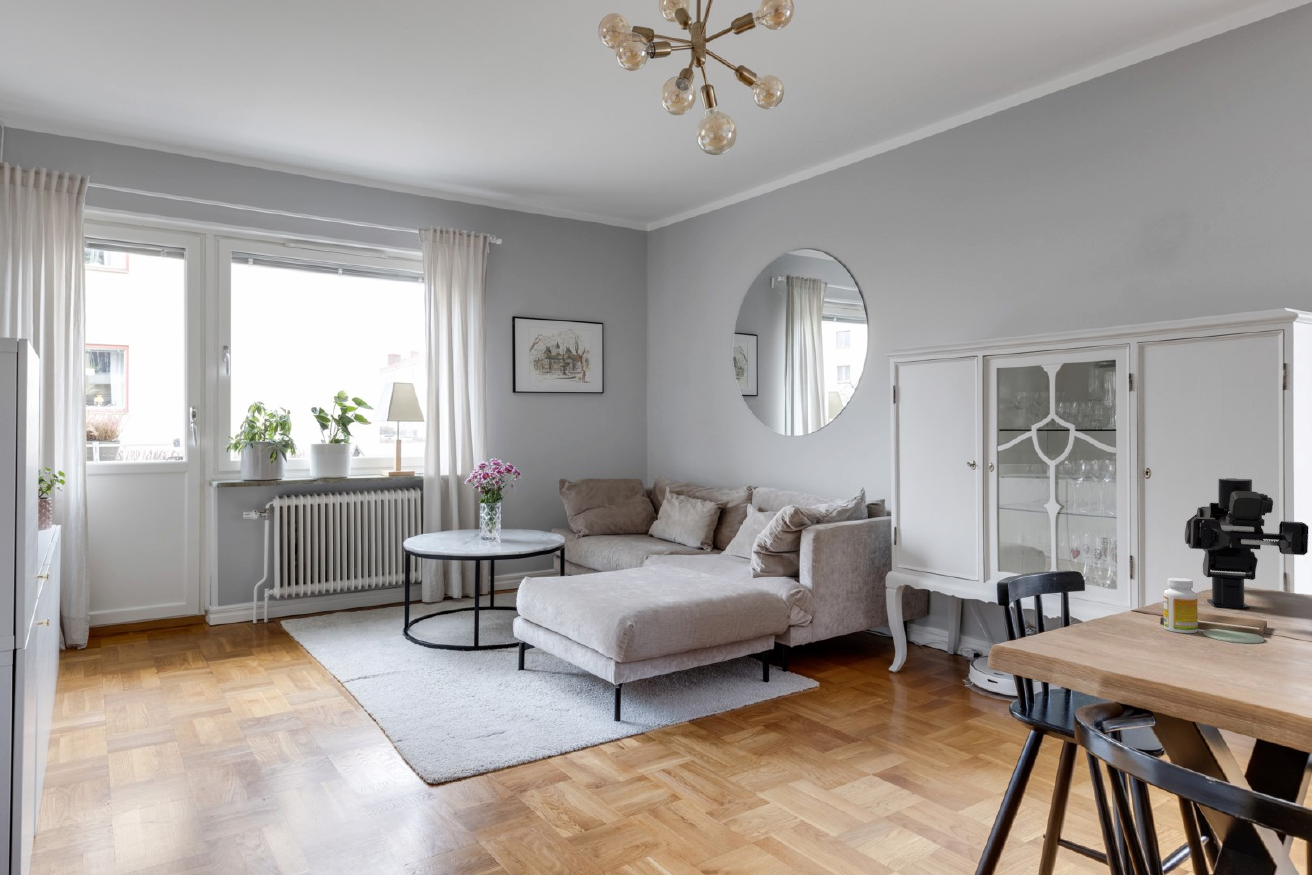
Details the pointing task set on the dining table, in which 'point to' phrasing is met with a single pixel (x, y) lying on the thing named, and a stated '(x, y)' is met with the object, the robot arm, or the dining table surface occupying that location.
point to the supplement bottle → (1180, 606)
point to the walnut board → (1229, 624)
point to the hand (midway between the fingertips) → (1259, 543)
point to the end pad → (1233, 636)
